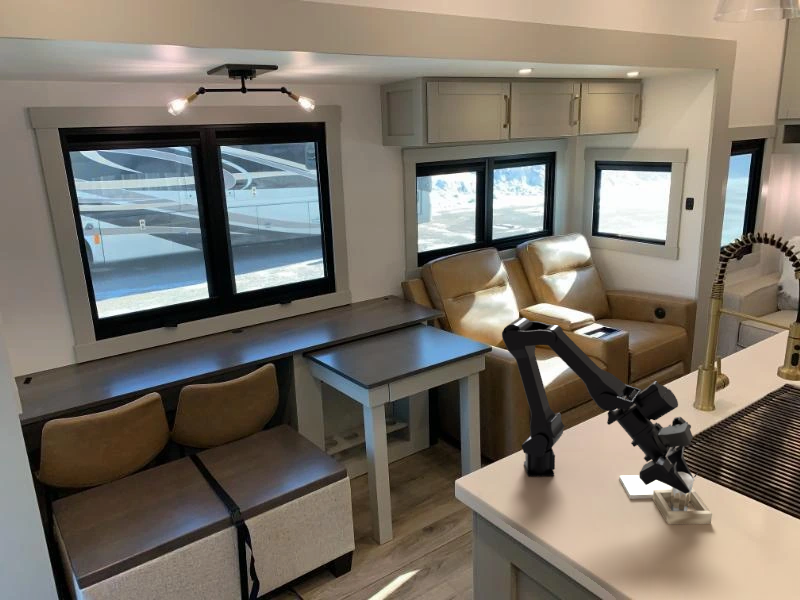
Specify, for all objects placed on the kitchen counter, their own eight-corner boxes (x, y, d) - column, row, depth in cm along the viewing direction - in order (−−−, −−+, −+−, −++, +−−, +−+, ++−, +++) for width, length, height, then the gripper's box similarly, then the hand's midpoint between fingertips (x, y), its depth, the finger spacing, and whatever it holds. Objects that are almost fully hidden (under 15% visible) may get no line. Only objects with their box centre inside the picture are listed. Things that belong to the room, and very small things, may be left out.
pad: (630, 498, 140) (630, 494, 140) (619, 479, 148) (619, 475, 147) (678, 497, 139) (679, 493, 139) (665, 478, 147) (665, 474, 147)
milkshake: (696, 518, 132) (701, 477, 129) (670, 516, 133) (674, 475, 130) (691, 506, 136) (695, 466, 134) (665, 504, 137) (669, 464, 135)
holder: (668, 524, 131) (669, 514, 130) (652, 499, 139) (653, 490, 139) (710, 523, 130) (712, 513, 130) (692, 498, 139) (693, 489, 138)
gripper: (659, 429, 123) (714, 493, 120) (679, 395, 138) (728, 451, 135) (617, 454, 130) (669, 515, 127) (641, 418, 144) (687, 472, 141)
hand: (690, 487), depth 132 cm, fingers closed on milkshake, 4 cm apart
